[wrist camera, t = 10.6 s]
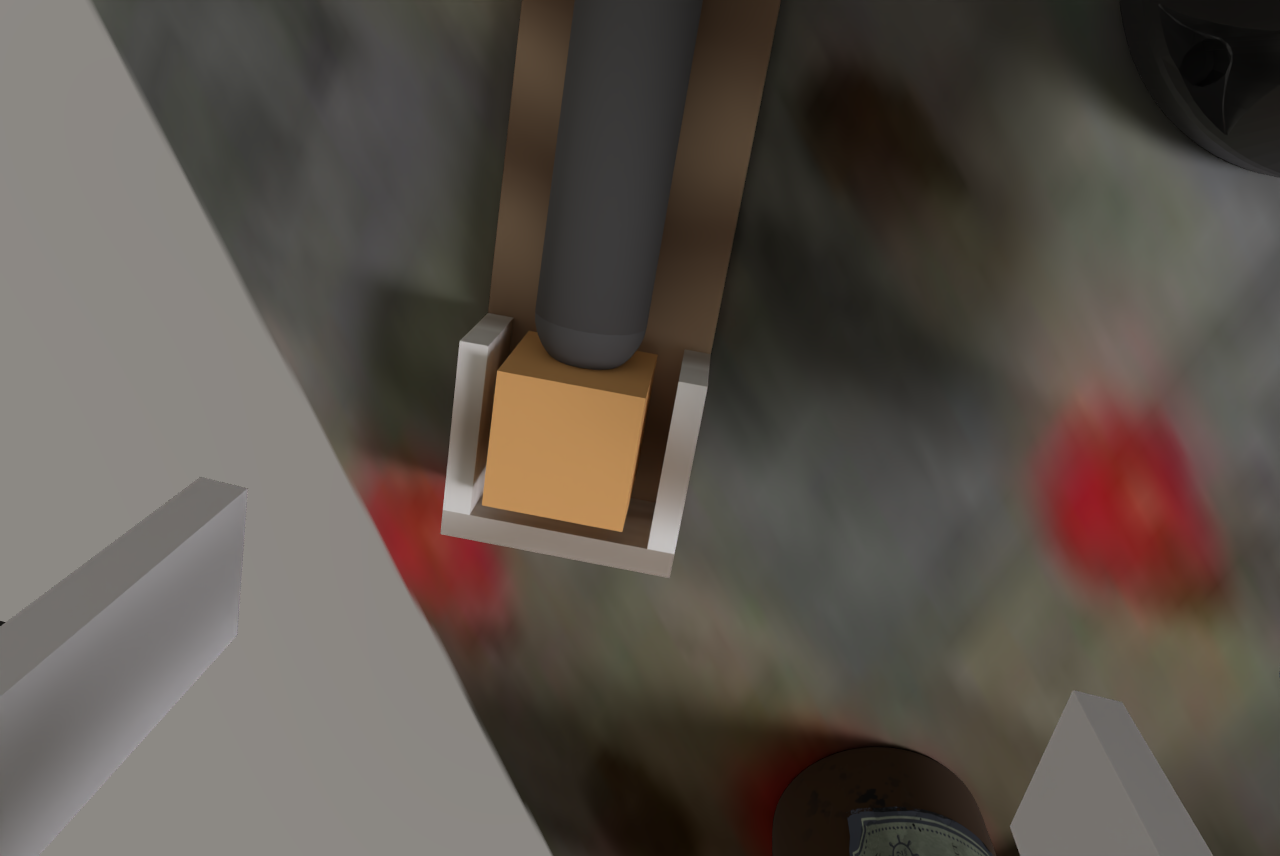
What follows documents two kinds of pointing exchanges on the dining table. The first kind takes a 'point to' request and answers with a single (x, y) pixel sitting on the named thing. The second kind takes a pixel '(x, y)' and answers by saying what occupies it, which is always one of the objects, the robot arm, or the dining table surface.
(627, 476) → the grey handled block hammer
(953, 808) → the olive oil
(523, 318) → the wooden stand
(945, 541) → the dining table surface
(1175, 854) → the robot arm
